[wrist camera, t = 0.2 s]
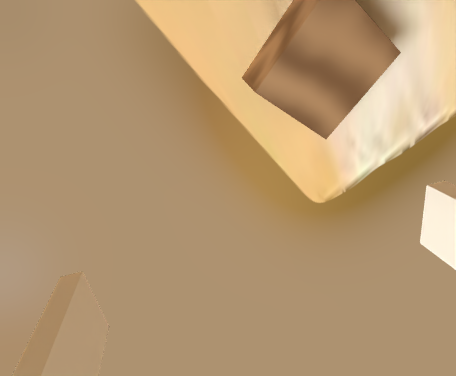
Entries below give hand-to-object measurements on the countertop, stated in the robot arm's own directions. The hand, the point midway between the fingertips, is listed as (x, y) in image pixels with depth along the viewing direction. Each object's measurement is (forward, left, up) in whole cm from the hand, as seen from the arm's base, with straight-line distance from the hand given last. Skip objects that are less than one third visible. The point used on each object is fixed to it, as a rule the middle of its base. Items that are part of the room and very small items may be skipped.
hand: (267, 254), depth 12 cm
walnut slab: (-8, +14, -27) cm, 32 cm away
